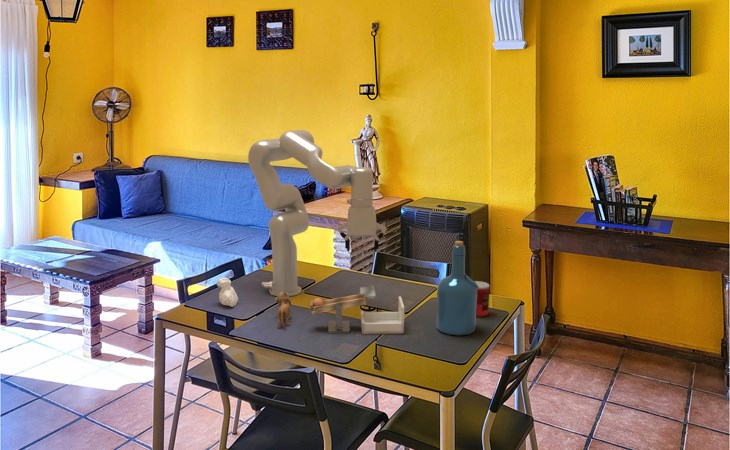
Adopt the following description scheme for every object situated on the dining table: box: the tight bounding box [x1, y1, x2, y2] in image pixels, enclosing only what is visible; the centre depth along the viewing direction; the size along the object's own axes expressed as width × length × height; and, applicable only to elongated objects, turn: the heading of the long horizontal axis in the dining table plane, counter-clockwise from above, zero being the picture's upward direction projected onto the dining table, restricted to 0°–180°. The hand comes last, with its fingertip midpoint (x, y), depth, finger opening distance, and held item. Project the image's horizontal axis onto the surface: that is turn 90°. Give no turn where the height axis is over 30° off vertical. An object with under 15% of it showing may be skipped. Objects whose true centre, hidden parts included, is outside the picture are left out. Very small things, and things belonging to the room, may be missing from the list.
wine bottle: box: [435, 240, 479, 336], centre depth 196 cm, size 14×13×30 cm
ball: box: [313, 297, 324, 306], centre depth 197 cm, size 3×3×3 cm
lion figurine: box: [274, 292, 292, 330], centre depth 203 cm, size 15×5×9 cm, turn 11°
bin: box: [360, 296, 405, 335], centre depth 199 cm, size 14×11×9 cm
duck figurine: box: [216, 276, 239, 307], centre depth 221 cm, size 12×8×11 cm
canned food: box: [473, 280, 490, 318], centre depth 212 cm, size 8×8×11 cm
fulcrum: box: [327, 304, 351, 334], centre depth 198 cm, size 7×9×9 cm
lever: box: [309, 284, 377, 315], centre depth 202 cm, size 22×16×3 cm
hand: (361, 250), depth 212 cm, fingers open, 9 cm apart
